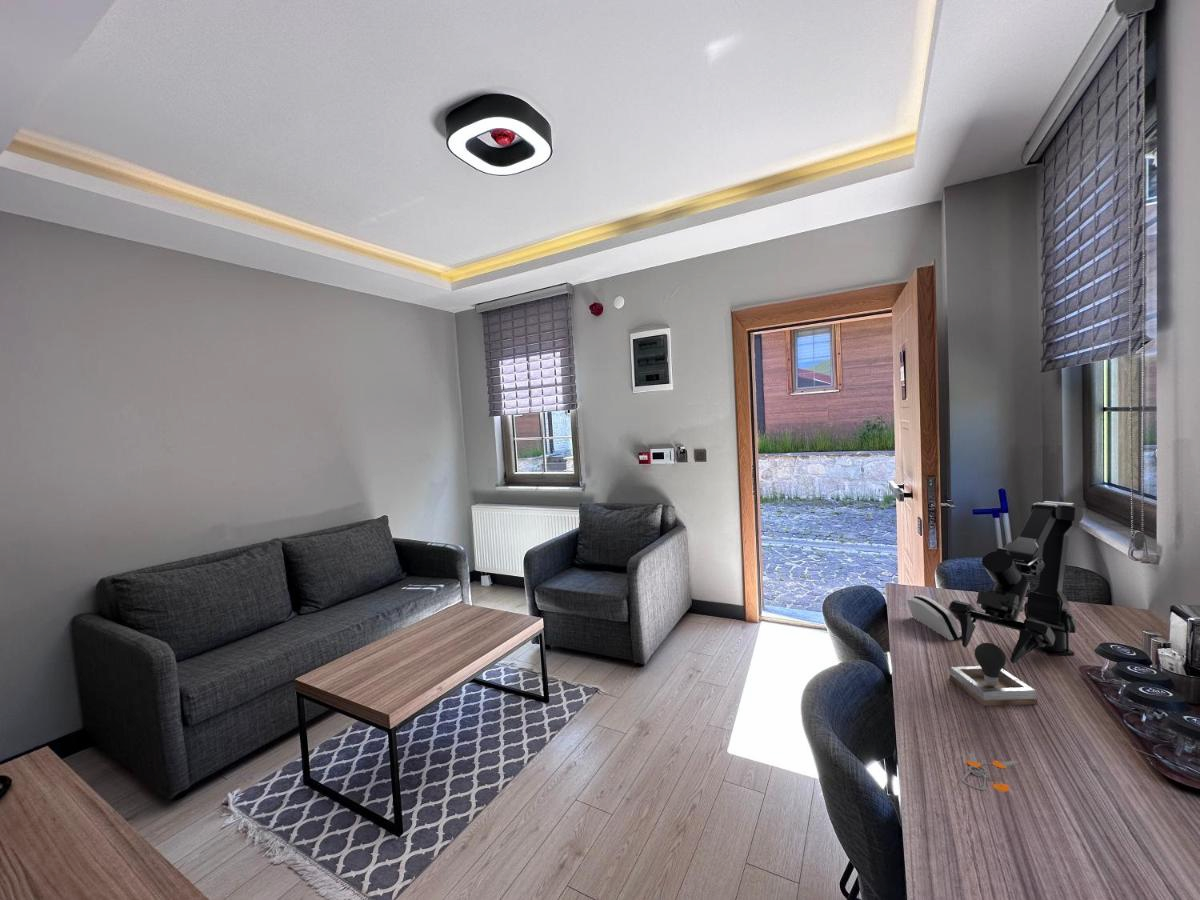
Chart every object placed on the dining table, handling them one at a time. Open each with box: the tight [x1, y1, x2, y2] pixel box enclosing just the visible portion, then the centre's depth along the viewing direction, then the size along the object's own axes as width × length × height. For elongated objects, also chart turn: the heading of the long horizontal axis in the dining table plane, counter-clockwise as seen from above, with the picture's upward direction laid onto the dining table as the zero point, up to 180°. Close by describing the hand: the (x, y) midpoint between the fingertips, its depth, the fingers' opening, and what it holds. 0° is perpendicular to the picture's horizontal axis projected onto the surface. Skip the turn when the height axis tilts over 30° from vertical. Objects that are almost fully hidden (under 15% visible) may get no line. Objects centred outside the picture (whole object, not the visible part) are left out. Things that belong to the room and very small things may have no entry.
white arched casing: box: [906, 594, 962, 641], centre depth 144 cm, size 17×5×10 cm, turn 179°
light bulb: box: [974, 642, 1007, 687], centre depth 111 cm, size 6×6×10 cm
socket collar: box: [950, 665, 1036, 701], centre depth 111 cm, size 11×11×2 cm
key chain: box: [960, 752, 1019, 793], centre depth 87 cm, size 13×7×1 cm, turn 130°
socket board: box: [949, 674, 1038, 707], centre depth 111 cm, size 11×11×1 cm
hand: (987, 654), depth 110 cm, fingers open, 9 cm apart
